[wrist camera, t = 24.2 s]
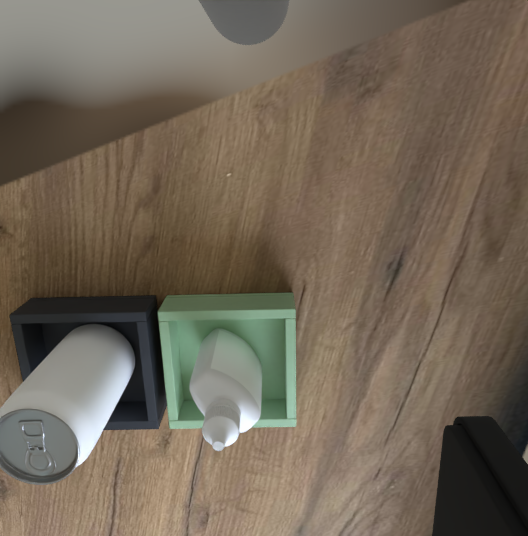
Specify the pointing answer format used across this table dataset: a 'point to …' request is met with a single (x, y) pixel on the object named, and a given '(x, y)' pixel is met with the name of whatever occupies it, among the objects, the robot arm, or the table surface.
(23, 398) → the can
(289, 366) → the sage bin
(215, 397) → the eye dropper bottle
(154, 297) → the charcoal bin
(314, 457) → the table surface
